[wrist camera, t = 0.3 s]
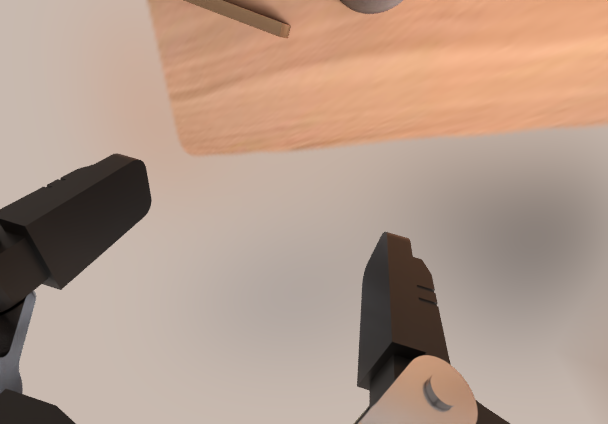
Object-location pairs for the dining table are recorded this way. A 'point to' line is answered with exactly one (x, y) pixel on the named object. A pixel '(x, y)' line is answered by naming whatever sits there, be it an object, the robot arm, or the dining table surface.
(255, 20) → the brown wooden u-shaped frame
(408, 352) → the robot arm
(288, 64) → the dining table surface
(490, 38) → the dining table surface
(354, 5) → the pillar candle
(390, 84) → the dining table surface
